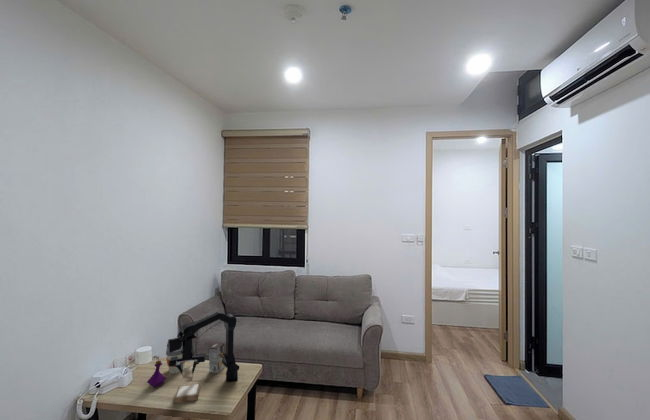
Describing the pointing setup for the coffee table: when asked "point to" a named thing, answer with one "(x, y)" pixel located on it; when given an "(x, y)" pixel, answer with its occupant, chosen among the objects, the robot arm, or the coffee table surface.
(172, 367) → the reusable coffee cup
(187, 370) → the oak block
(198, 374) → the coffee table surface
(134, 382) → the coffee table surface
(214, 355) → the coffee box
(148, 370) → the coffee table surface
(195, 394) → the base slab
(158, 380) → the perfume bottle
